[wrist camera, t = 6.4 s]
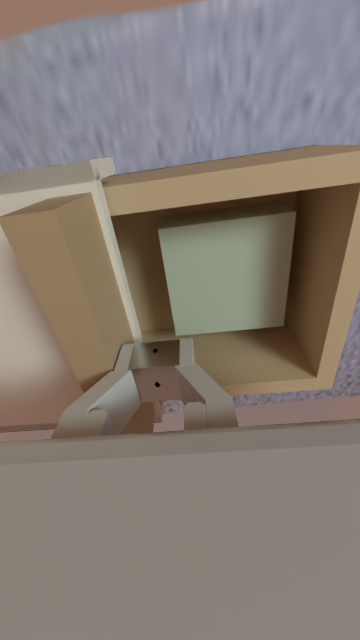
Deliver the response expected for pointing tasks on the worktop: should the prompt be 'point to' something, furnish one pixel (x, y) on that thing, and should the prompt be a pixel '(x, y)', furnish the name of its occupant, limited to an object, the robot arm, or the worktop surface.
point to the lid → (60, 295)
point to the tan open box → (246, 262)
